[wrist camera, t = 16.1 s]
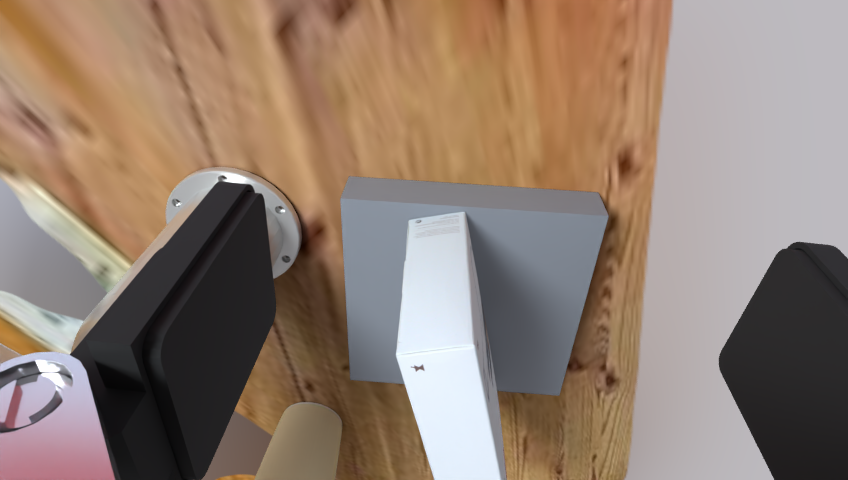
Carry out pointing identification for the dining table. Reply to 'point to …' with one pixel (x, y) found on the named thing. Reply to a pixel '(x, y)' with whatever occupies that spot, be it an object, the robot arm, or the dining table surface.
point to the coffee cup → (303, 445)
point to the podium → (495, 265)
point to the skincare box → (449, 352)
